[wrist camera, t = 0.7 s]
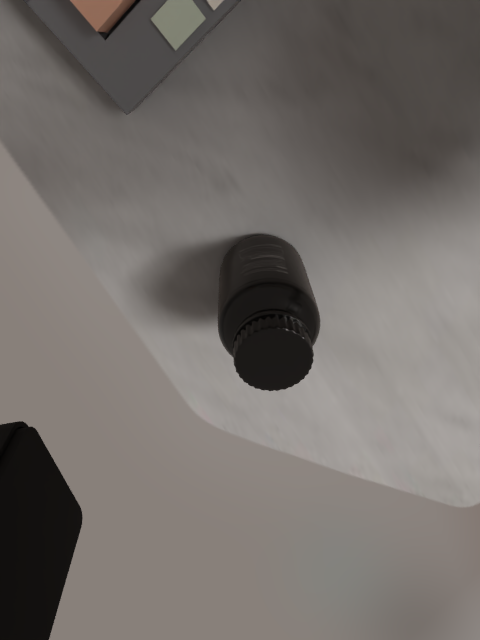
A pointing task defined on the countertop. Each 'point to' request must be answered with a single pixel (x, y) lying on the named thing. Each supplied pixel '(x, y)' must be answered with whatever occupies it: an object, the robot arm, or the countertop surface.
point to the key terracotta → (102, 12)
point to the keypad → (133, 41)
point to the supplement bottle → (267, 312)
